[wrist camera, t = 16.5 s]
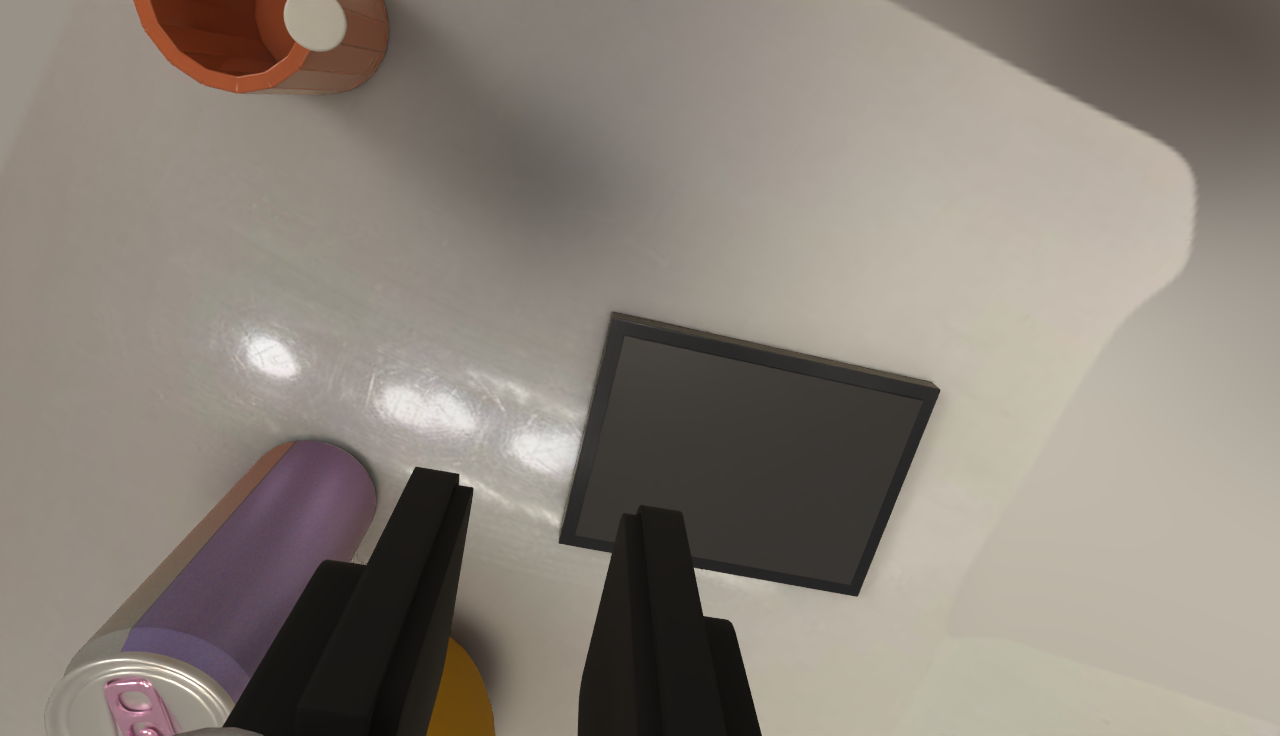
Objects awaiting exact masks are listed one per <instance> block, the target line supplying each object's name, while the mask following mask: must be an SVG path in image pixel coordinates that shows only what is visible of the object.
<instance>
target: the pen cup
mask: <svg viewBox="0 0 1280 736" xmlns="http://www.w3.org/2000/svg"><path fill="white" fill-rule="evenodd" d="M133 1H134V4H135V7H136V10H137V13H138V15H139V18H140V21H141V24H142V27H143V28H144V29H145V32H146V33H147V35H148V36H149V37H150V38H151V40H152V41H153V42H154V44H155V45H156V46H157V47H158V49H159V50H160V51H161V53H162V54H163V55H164V56H165V58H166V59H167V60H168V61H169V62H170V63H171V64H172V65H173V66H175V67H176V68H178V69H179V70H181V71H182V72H184V73H185V74H187V75H188V76H190V77H191V78H193V79H194V80H196V81H197V82H199V83H200V84H203V85H205V86H208V87H213V88H217V89H221V90H225V91H229V92H233V93H239V94H294V95H325V94H335V93H342V92H346V91H349V90H351V89H354V88H356V87H358V86H359V85H361V84H363V83H364V82H365V81H366V80H368V79H369V78H370V77H371V76H372V75H373V74H374V72H375V71H376V70H377V68H378V67H379V65H380V63H381V61H382V59H383V57H384V54H385V51H386V48H387V43H388V34H389V25H388V16H387V11H386V8H385V4H384V1H383V0H337V1H338V3H339V4H340V5H341V7H342V9H343V11H344V13H345V16H346V22H347V29H346V33H345V36H344V38H343V40H342V42H341V43H340V44H339V45H338V46H337V47H335V48H333V49H331V50H329V51H324V52H317V51H312V50H309V49H306V48H304V47H303V46H301V45H300V44H298V43H297V42H296V41H295V40H294V39H293V38H292V37H291V35H290V34H289V32H288V30H287V28H286V25H285V22H284V7H285V4H286V2H287V0H133Z"/></svg>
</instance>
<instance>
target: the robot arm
mask: <svg viewBox="0 0 1280 736" xmlns="http://www.w3.org/2000/svg"><path fill="white" fill-rule="evenodd" d="M472 497H473V488H472V487H466V486H460V485H459V474H456V473H451V472H445V471H439V470H433V469H427V468H421V467H415V469H414V470H413V472H412V474H411V477H410V479H409V481H408V483H407V485H406V487H405V489H404V491H403V493H402V495H401V497H400V499H399V501H398V503H397V505H396V507H395V509H394V511H393V513H392V515H391V517H390V519H389V521H388V523H387V525H386V527H385V529H384V531H383V533H382V535H381V537H380V539H379V541H378V543H377V545H376V547H375V549H374V551H373V553H372V555H371V557H370V559H369V561H368V563H367V565H361V564H355V563H348V562H341V561H335V560H328V559H326V560H324V561H322V562H321V564H320V565H319V566H318V568H317V569H316V571H315V572H314V574H313V576H312V577H311V579H310V581H309V582H308V584H307V586H306V587H305V589H304V591H303V592H302V594H301V596H300V597H299V599H298V601H297V602H296V604H295V606H294V607H293V609H292V611H291V612H290V614H289V616H288V617H287V619H286V621H285V622H284V624H283V626H282V627H281V629H280V631H279V633H278V634H277V636H276V638H275V639H274V641H273V643H272V644H271V646H270V648H269V649H268V651H267V653H266V654H265V656H264V658H263V659H262V661H261V663H260V664H259V666H258V668H257V669H256V671H255V673H254V674H253V676H252V678H251V679H250V681H249V683H248V684H247V686H246V688H245V689H244V691H243V693H242V694H241V696H240V698H239V699H238V701H237V703H236V705H235V706H234V708H233V710H232V711H231V713H230V715H229V716H228V718H227V720H226V721H225V723H224V725H223V726H222V727H207V728H202V729H197V730H193V731H188V732H183V733H179V734H175V735H173V736H426V734H427V731H428V727H429V723H430V720H431V716H432V712H433V708H434V705H435V701H436V697H437V694H438V690H439V686H440V682H441V678H442V674H443V669H444V665H445V660H446V654H447V648H448V642H449V636H450V630H451V624H452V618H453V612H454V606H455V600H456V594H457V588H458V582H459V576H460V570H461V564H462V558H463V552H464V546H465V540H466V534H467V528H468V522H469V516H470V510H471V504H472ZM578 736H762V735H761V731H760V727H759V723H758V719H757V715H756V711H755V707H754V703H753V699H752V695H751V691H750V688H749V684H748V680H747V676H746V672H745V668H744V664H743V660H742V656H741V652H740V648H739V644H738V640H737V637H736V633H735V630H734V627H733V625H732V623H731V622H730V621H729V620H725V619H719V618H712V617H705V616H703V612H702V607H701V602H700V597H699V592H698V587H697V582H696V577H695V572H694V567H693V562H692V557H691V552H690V547H689V543H688V538H687V533H686V528H685V523H684V518H683V514H682V512H681V511H677V510H671V509H665V508H659V507H653V506H647V505H640V506H639V508H638V510H637V513H636V515H634V514H628V513H623V514H622V516H621V519H620V523H619V527H618V531H617V535H616V539H615V543H614V547H613V552H612V556H611V560H610V564H609V568H608V572H607V576H606V580H605V584H604V589H603V593H602V597H601V601H600V605H599V609H598V613H597V617H596V622H595V626H594V630H593V634H592V638H591V642H590V646H589V650H588V654H587V659H586V663H585V667H584V671H583V676H582V681H581V687H580V695H579V711H578Z"/></svg>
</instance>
